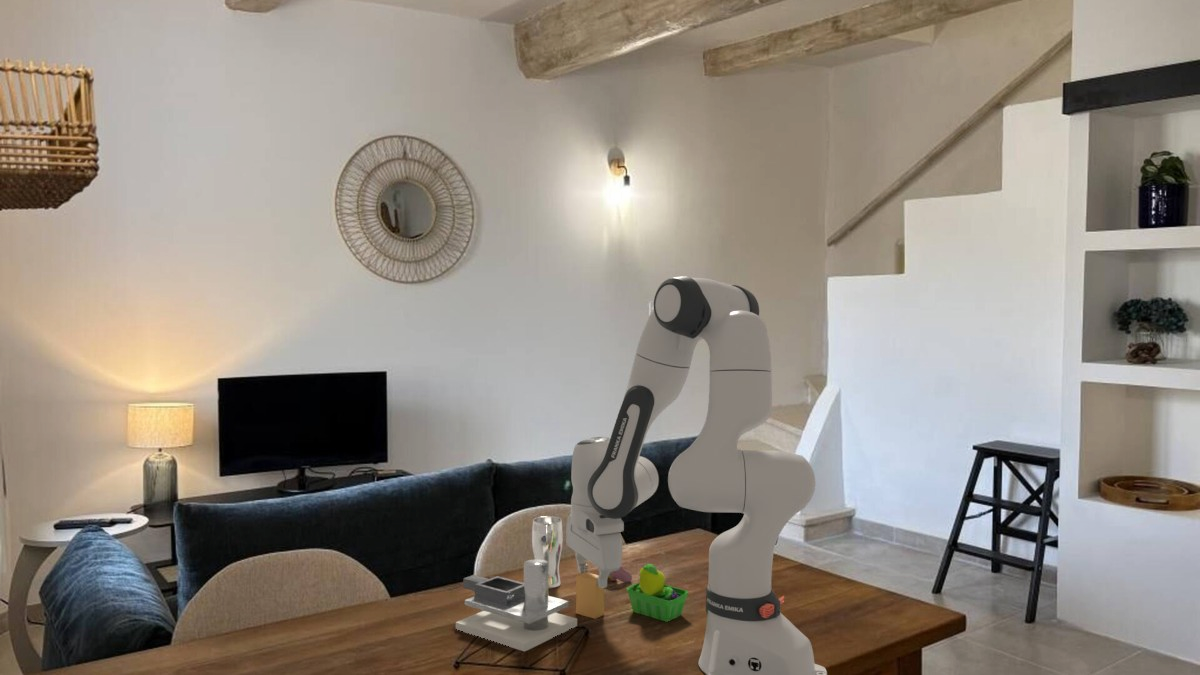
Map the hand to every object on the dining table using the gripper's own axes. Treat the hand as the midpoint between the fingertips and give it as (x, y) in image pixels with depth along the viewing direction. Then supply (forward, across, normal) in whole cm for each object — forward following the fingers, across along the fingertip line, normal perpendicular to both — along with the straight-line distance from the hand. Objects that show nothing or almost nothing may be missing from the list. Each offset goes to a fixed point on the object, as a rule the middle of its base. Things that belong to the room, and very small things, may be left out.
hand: (592, 579), depth 188 cm
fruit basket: (+7, +7, +11) cm, 15 cm away
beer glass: (+8, -20, -2) cm, 21 cm away
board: (+7, +2, -17) cm, 19 cm away
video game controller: (+8, -18, +14) cm, 24 cm away
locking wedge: (+7, +1, -1) cm, 7 cm away
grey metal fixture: (+5, 0, -19) cm, 19 cm away
